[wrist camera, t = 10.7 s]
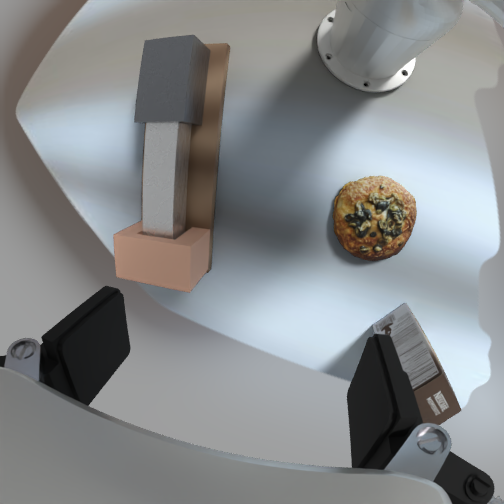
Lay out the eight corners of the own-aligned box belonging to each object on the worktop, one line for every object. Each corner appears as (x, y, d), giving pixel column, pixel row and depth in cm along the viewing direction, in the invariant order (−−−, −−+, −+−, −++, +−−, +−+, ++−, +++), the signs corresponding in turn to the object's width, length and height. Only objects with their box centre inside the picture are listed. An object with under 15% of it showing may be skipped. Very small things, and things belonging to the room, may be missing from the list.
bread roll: (367, 275, 38) (373, 286, 33) (313, 212, 38) (312, 214, 33) (428, 221, 34) (441, 226, 30) (375, 155, 35) (383, 150, 30)
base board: (159, 51, 32) (154, 48, 31) (230, 47, 31) (227, 43, 30) (147, 257, 43) (142, 261, 41) (211, 268, 41) (208, 272, 40)
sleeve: (166, 53, 31) (144, 40, 25) (210, 50, 30) (194, 34, 25) (158, 124, 34) (134, 122, 29) (202, 125, 34) (183, 121, 28)
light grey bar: (163, 110, 33) (147, 107, 29) (193, 110, 32) (179, 106, 29) (157, 251, 39) (143, 261, 35) (184, 255, 39) (172, 267, 35)
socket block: (141, 220, 39) (113, 234, 33) (210, 229, 38) (190, 246, 31) (142, 257, 41) (116, 277, 34) (208, 269, 40) (189, 292, 33)
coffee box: (428, 339, 39) (463, 412, 24) (395, 361, 41) (418, 438, 27) (405, 300, 38) (444, 373, 23) (369, 324, 40) (390, 405, 25)
